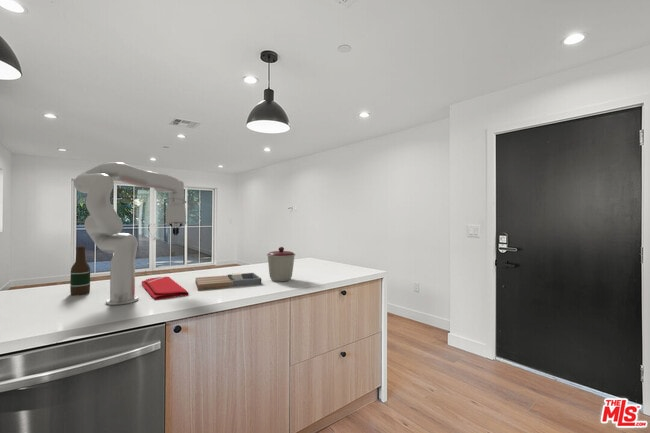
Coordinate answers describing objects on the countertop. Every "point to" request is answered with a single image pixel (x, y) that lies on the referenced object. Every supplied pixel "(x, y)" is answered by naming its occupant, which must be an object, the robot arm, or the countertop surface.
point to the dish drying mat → (163, 288)
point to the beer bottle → (80, 274)
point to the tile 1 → (236, 276)
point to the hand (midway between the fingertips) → (175, 235)
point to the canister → (280, 265)
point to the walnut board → (213, 282)
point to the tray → (246, 280)
